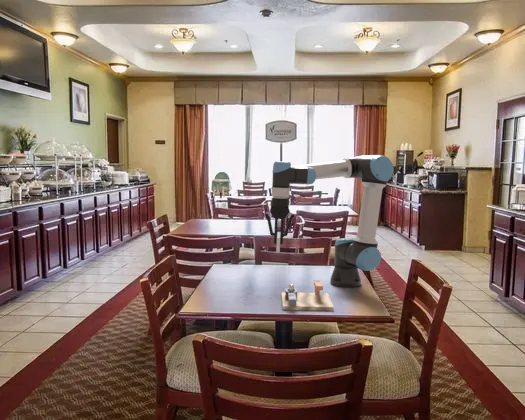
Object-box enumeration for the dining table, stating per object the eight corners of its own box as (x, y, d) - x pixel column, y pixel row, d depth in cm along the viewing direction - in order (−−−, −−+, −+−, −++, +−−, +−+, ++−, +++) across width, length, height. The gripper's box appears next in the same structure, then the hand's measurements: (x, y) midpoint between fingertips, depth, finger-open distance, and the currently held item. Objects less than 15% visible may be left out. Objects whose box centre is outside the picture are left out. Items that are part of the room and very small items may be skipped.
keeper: (320, 293, 210) (320, 280, 209) (322, 299, 201) (323, 286, 200) (313, 293, 210) (313, 280, 209) (315, 299, 201) (316, 286, 200)
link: (285, 294, 207) (285, 288, 206) (296, 295, 207) (296, 288, 206) (286, 305, 191) (286, 298, 191) (298, 306, 191) (298, 299, 191)
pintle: (296, 295, 207) (296, 283, 206) (296, 298, 202) (297, 286, 201) (285, 295, 207) (285, 283, 206) (285, 298, 202) (286, 286, 201)
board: (327, 296, 211) (327, 292, 211) (333, 310, 191) (333, 307, 191) (281, 295, 211) (281, 292, 211) (282, 309, 192) (282, 306, 191)
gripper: (295, 197, 203) (292, 250, 205) (265, 196, 203) (263, 249, 205) (295, 198, 195) (293, 254, 197) (264, 197, 196) (262, 252, 198)
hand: (277, 251), depth 201 cm, fingers closed
